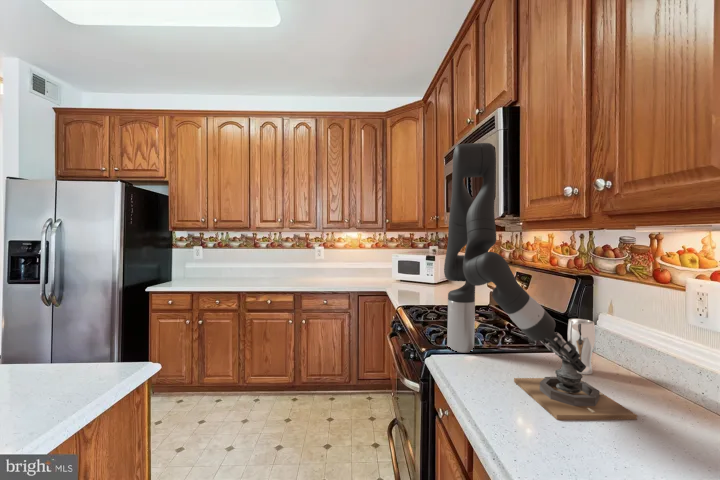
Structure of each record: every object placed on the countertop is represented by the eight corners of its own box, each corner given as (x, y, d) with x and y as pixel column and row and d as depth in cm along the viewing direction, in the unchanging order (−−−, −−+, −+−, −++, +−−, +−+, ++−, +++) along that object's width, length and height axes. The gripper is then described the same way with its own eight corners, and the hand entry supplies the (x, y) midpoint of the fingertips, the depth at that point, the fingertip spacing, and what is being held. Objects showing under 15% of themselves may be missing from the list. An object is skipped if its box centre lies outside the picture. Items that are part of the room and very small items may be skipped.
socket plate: (514, 381, 97) (514, 370, 97) (577, 381, 97) (578, 371, 97) (556, 419, 77) (557, 406, 77) (637, 419, 77) (637, 406, 77)
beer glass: (583, 376, 101) (585, 324, 101) (561, 368, 107) (562, 319, 107) (599, 373, 104) (600, 322, 103) (576, 365, 110) (577, 317, 110)
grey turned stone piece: (555, 390, 86) (556, 341, 86) (554, 381, 91) (555, 335, 91) (583, 395, 83) (584, 345, 83) (581, 386, 88) (582, 338, 88)
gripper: (557, 312, 79) (608, 366, 80) (526, 300, 94) (569, 346, 94) (534, 335, 79) (585, 389, 80) (506, 320, 93) (549, 366, 94)
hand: (576, 366), depth 87 cm, fingers closed on grey turned stone piece, 3 cm apart
